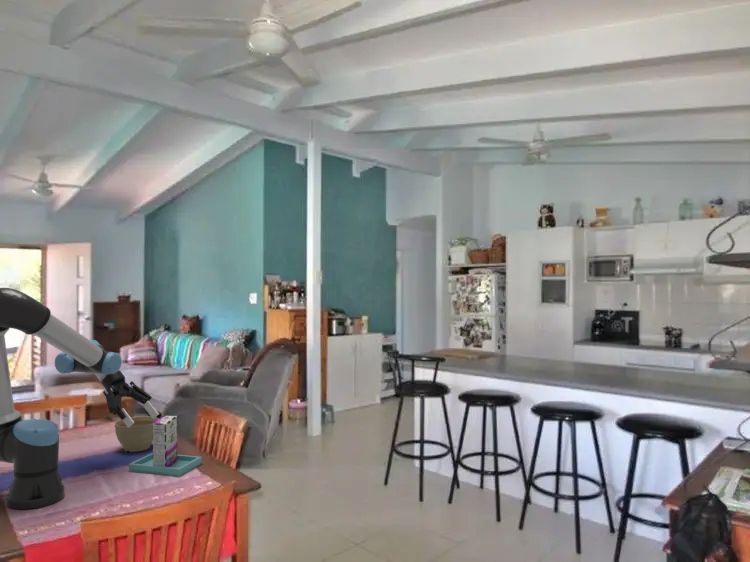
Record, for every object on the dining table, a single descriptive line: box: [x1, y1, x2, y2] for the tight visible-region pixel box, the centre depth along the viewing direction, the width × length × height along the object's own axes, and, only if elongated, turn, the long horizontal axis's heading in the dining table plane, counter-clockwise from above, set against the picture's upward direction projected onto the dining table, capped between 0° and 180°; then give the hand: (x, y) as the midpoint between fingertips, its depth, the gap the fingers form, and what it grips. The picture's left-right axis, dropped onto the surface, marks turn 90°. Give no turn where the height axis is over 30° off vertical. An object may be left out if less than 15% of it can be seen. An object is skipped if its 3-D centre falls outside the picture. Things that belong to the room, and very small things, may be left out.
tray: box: [128, 452, 203, 478], centre depth 201 cm, size 14×20×2 cm
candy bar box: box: [152, 415, 178, 467], centre depth 201 cm, size 11×5×16 cm, turn 179°
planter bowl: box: [114, 416, 160, 453], centre depth 222 cm, size 16×16×11 cm
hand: (144, 420), depth 204 cm, fingers open, 13 cm apart
